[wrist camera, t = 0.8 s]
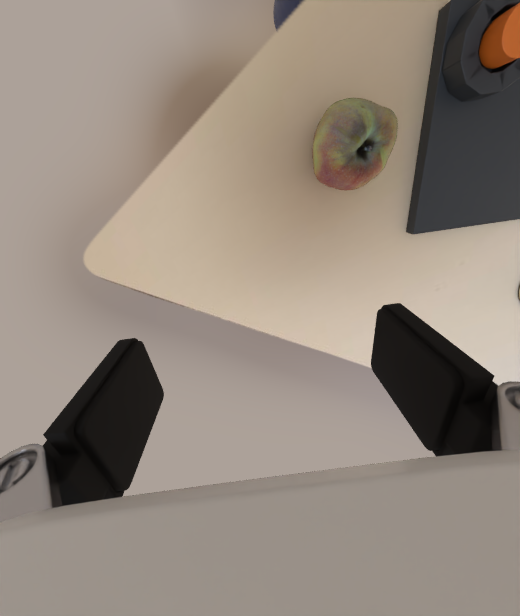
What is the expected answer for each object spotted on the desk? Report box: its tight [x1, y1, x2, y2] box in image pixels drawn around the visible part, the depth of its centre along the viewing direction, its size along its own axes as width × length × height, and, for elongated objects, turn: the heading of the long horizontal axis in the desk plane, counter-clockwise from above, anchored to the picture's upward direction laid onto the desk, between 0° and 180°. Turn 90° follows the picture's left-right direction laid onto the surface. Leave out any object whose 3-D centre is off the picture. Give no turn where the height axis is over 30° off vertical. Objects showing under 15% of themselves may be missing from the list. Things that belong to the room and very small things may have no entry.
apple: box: [312, 98, 398, 190], centre depth 19 cm, size 6×8×6 cm
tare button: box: [479, 3, 520, 69], centre depth 16 cm, size 3×3×2 cm
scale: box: [406, 0, 520, 234], centre depth 20 cm, size 16×14×3 cm
